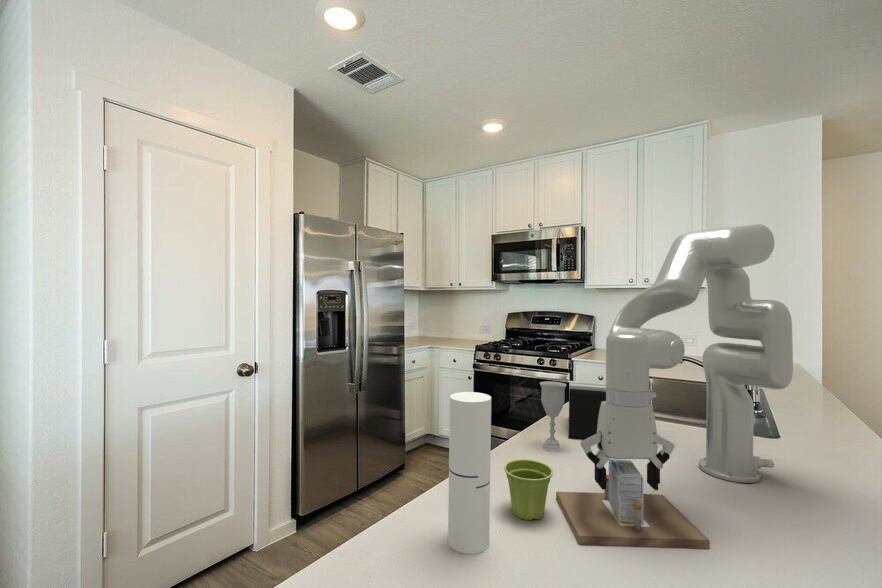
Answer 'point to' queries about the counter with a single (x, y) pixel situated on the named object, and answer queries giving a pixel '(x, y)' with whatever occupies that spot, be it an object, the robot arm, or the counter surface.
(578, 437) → the device stand
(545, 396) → the chalice
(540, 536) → the counter surface
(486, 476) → the cylindrical container
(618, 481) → the medicine box
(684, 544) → the pin board
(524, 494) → the plant pot
